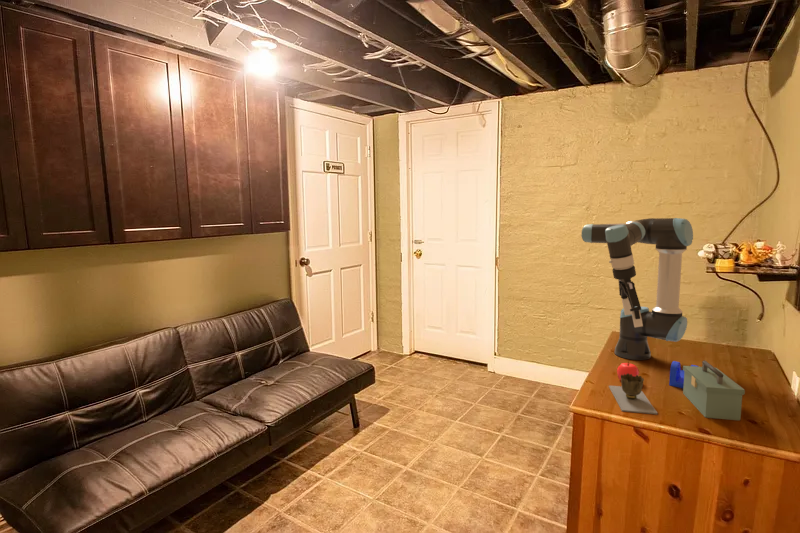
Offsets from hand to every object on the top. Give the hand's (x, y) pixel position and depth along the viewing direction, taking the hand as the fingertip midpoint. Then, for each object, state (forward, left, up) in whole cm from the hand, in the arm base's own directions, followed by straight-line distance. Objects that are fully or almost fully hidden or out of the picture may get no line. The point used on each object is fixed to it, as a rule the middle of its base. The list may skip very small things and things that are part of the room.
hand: (633, 320), depth 166 cm
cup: (+10, -2, -27) cm, 29 cm away
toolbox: (+10, +23, -27) cm, 37 cm away
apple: (-9, +1, -28) cm, 29 cm away
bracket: (-13, +24, -28) cm, 39 cm away
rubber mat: (+10, -2, -27) cm, 29 cm away
